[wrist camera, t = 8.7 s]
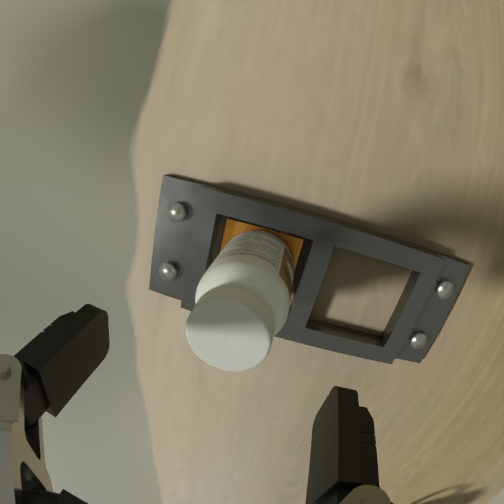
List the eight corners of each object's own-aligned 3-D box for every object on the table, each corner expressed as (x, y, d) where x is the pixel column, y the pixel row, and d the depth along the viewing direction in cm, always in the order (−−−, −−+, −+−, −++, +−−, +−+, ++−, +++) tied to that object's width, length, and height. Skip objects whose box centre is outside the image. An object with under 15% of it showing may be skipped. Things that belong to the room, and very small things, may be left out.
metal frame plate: (165, 174, 18) (157, 177, 17) (468, 263, 17) (476, 271, 15) (151, 286, 21) (144, 294, 20) (418, 359, 19) (422, 369, 18)
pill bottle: (282, 304, 19) (266, 392, 12) (216, 284, 20) (169, 360, 13) (304, 241, 18) (300, 310, 11) (231, 219, 18) (181, 273, 11)
